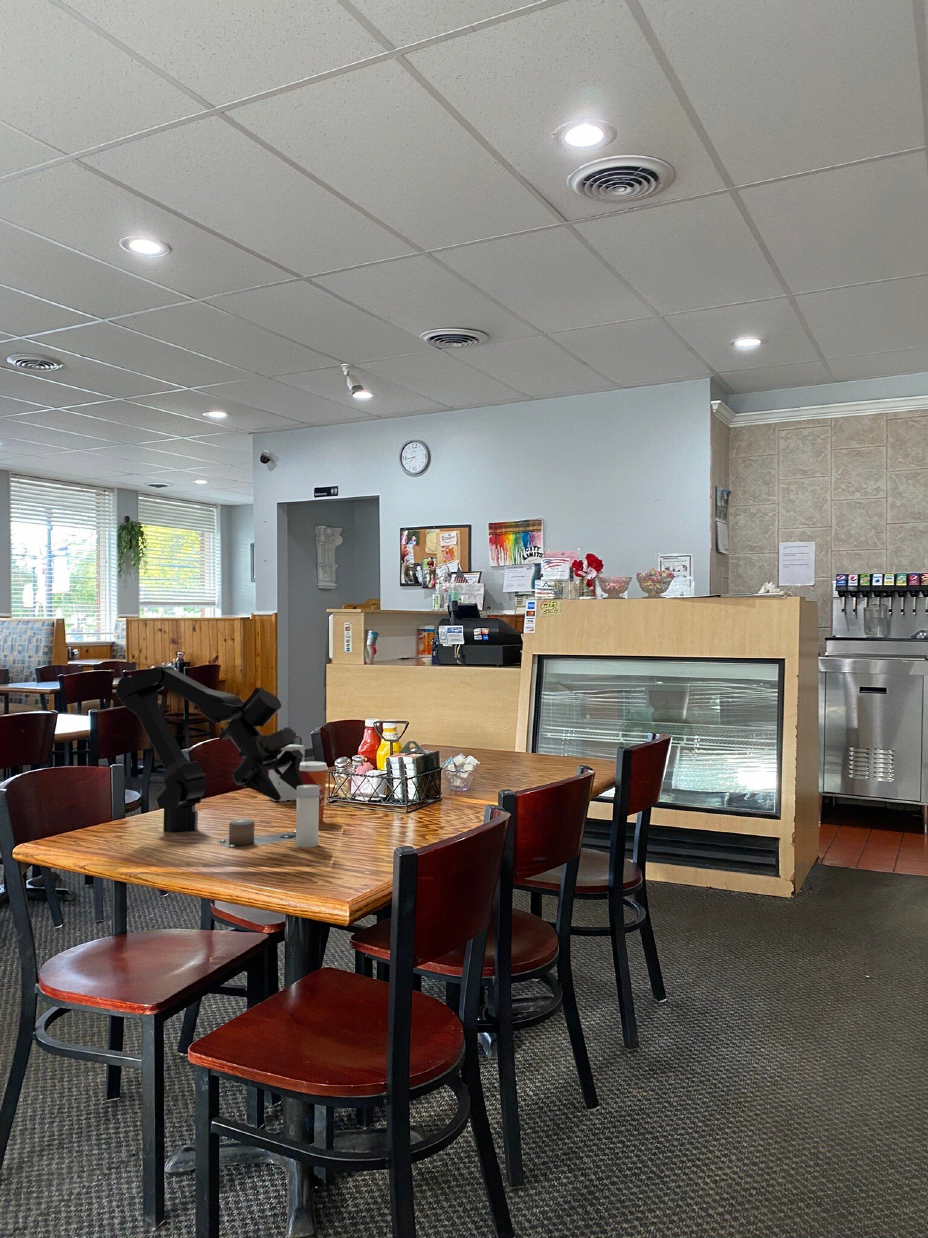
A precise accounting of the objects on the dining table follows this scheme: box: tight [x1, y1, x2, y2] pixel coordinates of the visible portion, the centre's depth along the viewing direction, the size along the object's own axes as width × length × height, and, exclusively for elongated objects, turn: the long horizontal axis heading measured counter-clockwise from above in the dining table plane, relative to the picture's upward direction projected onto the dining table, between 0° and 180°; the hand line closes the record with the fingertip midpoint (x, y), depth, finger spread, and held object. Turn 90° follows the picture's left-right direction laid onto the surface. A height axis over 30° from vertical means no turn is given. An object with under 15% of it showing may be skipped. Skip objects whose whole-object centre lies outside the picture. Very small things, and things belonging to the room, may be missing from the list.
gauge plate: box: [215, 830, 296, 849], centre depth 191 cm, size 19×8×1 cm, turn 125°
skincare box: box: [267, 744, 306, 802], centre depth 244 cm, size 8×6×15 cm
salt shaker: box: [295, 785, 320, 848], centre depth 187 cm, size 5×5×13 cm
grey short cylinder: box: [228, 817, 255, 845], centre depth 188 cm, size 5×5×4 cm
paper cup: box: [299, 761, 329, 824], centre depth 215 cm, size 8×8×14 cm
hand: (292, 796), depth 188 cm, fingers open, 9 cm apart
